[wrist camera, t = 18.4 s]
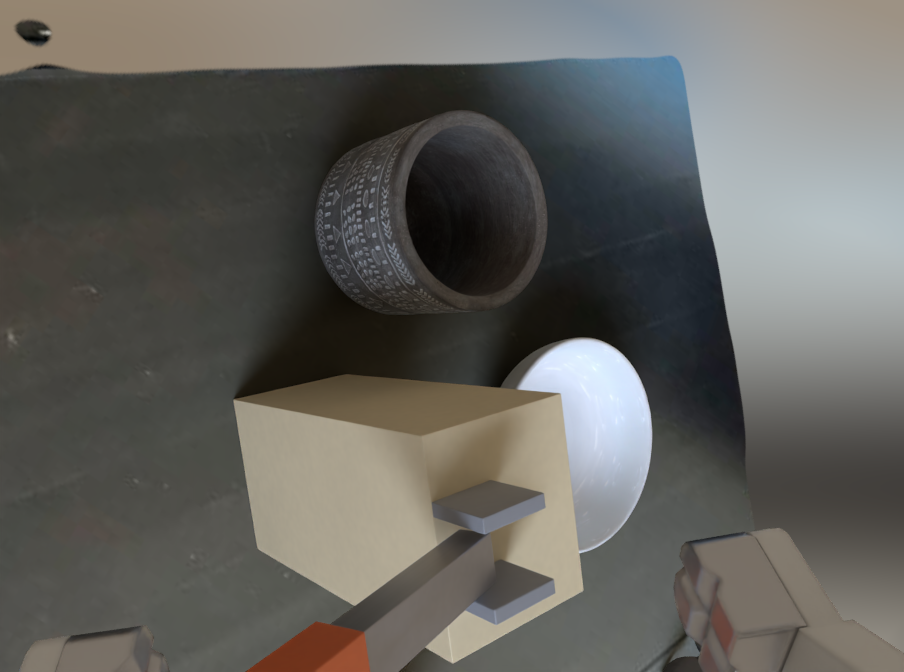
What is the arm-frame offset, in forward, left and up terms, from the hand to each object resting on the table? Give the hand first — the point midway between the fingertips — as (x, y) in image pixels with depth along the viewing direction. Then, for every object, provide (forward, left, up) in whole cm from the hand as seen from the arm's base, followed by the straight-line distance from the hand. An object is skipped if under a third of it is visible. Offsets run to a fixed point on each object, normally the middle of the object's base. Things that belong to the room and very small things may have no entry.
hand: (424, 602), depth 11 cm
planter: (+27, -11, -45) cm, 54 cm away
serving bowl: (+26, -39, -45) cm, 65 cm away
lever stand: (+9, -19, -45) cm, 50 cm away
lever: (0, -12, -17) cm, 21 cm away
